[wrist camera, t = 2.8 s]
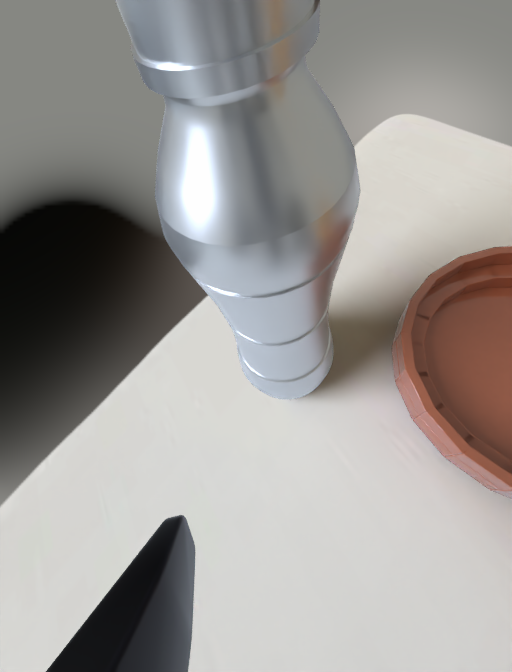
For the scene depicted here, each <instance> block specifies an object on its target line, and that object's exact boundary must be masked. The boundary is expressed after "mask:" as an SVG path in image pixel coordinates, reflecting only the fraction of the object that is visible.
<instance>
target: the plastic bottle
mask: <svg viewBox="0 0 512 672" xmlns="http://www.w3.org/2000/svg"><path fill="white" fill-rule="evenodd" d="M115 1H116V4H117V6H118V9H119V11H120V13H121V16H122V18H123V21H124V23H125V25H126V28H127V30H128V33H129V35H130V38H131V40H132V44H131V52H132V56H133V58H134V61H135V63H136V66H137V68H138V70H139V73H140V75H141V77H142V80H143V82H144V83H145V84H146V86H147V87H148V88H149V89H151V90H152V91H154V92H156V93H158V94H161V95H163V97H164V100H165V104H166V107H165V112H164V118H163V124H162V129H161V135H160V141H159V146H158V156H157V172H156V186H155V199H156V203H157V207H158V212H159V216H160V221H161V226H162V230H163V234H164V237H165V239H166V241H167V242H168V244H169V246H170V248H171V249H172V251H173V252H174V253H175V255H176V256H177V257H178V259H179V261H180V262H181V263H182V265H183V266H184V267H185V268H186V269H187V270H188V272H189V273H190V274H191V275H192V276H193V278H194V279H195V280H196V281H197V282H198V284H199V285H200V286H201V287H202V288H203V289H204V290H205V292H206V293H207V294H208V295H209V296H210V298H211V299H212V300H213V301H214V302H215V303H216V305H217V306H218V307H219V309H220V311H221V312H222V314H223V315H224V317H225V318H226V320H227V322H228V323H229V325H230V326H231V328H232V330H233V333H234V336H235V339H236V342H237V350H238V356H239V360H240V364H241V367H242V370H243V372H244V374H245V376H246V377H247V379H248V380H249V381H250V382H251V383H252V385H253V386H255V387H256V388H257V389H259V390H260V391H262V392H263V393H265V394H267V395H269V396H271V397H274V398H278V399H296V398H300V397H302V396H305V395H307V394H309V393H310V392H312V391H313V390H315V389H316V388H317V387H318V386H319V385H320V383H321V382H322V381H323V380H324V378H325V377H326V375H327V374H328V372H329V370H330V367H331V365H332V361H333V355H334V352H333V340H332V335H331V331H330V327H329V320H328V307H329V302H330V296H331V291H332V286H333V281H334V279H335V276H336V273H337V270H338V267H339V264H340V261H341V259H342V256H343V253H344V250H345V247H346V244H347V242H348V239H349V235H350V233H351V230H352V227H353V223H354V219H355V215H356V211H357V207H358V202H359V196H360V183H359V176H358V169H357V163H356V156H355V150H354V146H353V144H352V142H351V140H350V138H349V135H348V133H347V132H346V130H345V128H344V126H343V124H342V122H341V120H340V118H339V116H338V114H337V112H336V110H335V108H334V106H333V104H332V103H331V101H330V100H329V98H328V97H327V95H326V94H325V92H324V91H323V89H322V88H321V86H320V85H319V84H318V82H317V80H316V79H315V78H314V76H313V75H312V73H311V72H310V70H309V69H308V67H307V64H306V57H305V55H306V54H307V53H308V52H309V50H310V49H311V48H312V46H313V45H314V44H315V42H316V40H317V37H318V34H319V25H320V24H319V23H320V0H115Z"/></svg>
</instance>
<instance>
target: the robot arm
mask: <svg viewBox="0 0 512 672" xmlns="http://www.w3.org/2000/svg"><path fill="white" fill-rule="evenodd" d="M194 574H195V545H194V541H193V538H192V535H191V532H190V529H189V526H188V523H187V520H186V518H185V517H184V516H183V515H179V516H175V517H171V518H168V519H166V520H165V521H164V522H163V523H162V524H161V525H160V527H159V528H158V529H157V530H156V532H155V533H154V534H153V536H152V537H151V538H150V539H149V541H148V542H147V543H146V545H145V546H144V547H143V548H142V550H141V551H140V552H139V553H138V555H137V556H136V557H135V559H134V560H133V561H132V562H131V564H130V565H129V566H128V568H127V569H126V570H125V571H124V573H123V574H122V575H121V576H120V578H119V579H118V580H117V582H116V583H115V584H114V585H113V587H112V588H111V589H110V591H109V592H108V593H107V594H106V596H105V597H104V598H103V599H102V601H101V602H100V603H99V605H98V606H97V607H96V608H95V610H94V611H93V612H92V614H91V615H90V616H89V617H88V619H87V620H86V621H85V622H84V624H83V625H82V626H81V628H80V629H79V630H78V631H77V633H76V634H75V635H74V636H73V638H72V639H71V640H70V642H69V643H68V644H67V645H66V647H65V648H64V649H63V651H62V652H61V653H60V654H59V656H58V657H57V658H56V659H55V661H54V662H53V663H52V665H51V666H50V667H49V668H48V670H47V671H46V672H188V666H189V658H190V649H191V639H192V621H193V598H194Z"/></svg>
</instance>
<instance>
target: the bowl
mask: <svg viewBox="0 0 512 672" xmlns="http://www.w3.org/2000/svg"><path fill="white" fill-rule="evenodd" d="M392 357H393V366H394V376H395V382H396V385H397V387H398V389H399V391H400V393H401V396H402V398H403V400H404V402H405V404H406V407H407V409H408V411H409V413H410V415H411V418H412V419H413V421H414V422H415V423H416V424H417V425H418V427H419V428H420V429H421V430H422V431H423V433H424V434H425V435H426V436H427V437H428V438H429V440H430V441H431V442H432V443H433V444H434V446H435V447H436V448H437V449H438V450H439V451H440V453H441V454H442V455H443V456H445V458H446V459H448V460H449V461H450V462H452V463H453V464H455V465H456V466H457V467H459V468H460V469H461V470H463V471H464V472H466V473H467V474H468V475H470V476H471V477H473V478H474V479H475V480H477V481H478V482H479V483H481V484H482V485H484V486H485V487H486V488H488V489H490V490H491V491H494V492H496V493H498V494H501V495H503V496H506V497H508V498H511V499H512V246H511V247H494V248H490V249H486V250H483V251H479V252H475V253H471V254H468V255H464V256H460V257H458V258H457V259H455V260H453V261H452V262H450V263H448V264H447V265H445V266H443V267H442V268H440V269H439V270H437V271H435V272H434V273H432V274H430V275H429V276H428V277H427V279H426V280H425V281H424V283H423V284H422V285H421V286H420V288H419V289H418V290H417V291H416V293H415V294H414V295H413V296H412V298H411V299H410V301H409V302H408V304H407V306H406V308H405V309H404V311H403V313H402V315H401V317H400V319H399V323H398V326H397V330H396V333H395V337H394V340H393V344H392Z"/></svg>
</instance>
